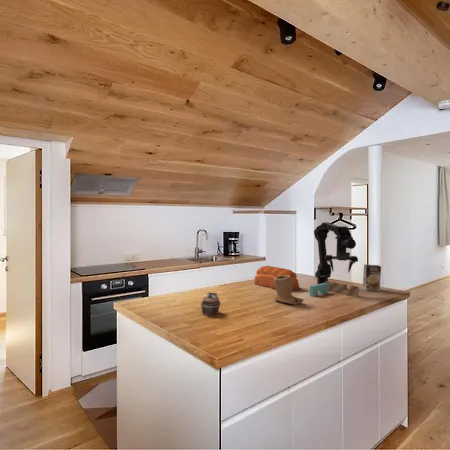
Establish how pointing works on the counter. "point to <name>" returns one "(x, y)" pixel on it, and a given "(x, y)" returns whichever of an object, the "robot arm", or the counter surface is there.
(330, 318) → the counter surface
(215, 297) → the cupcake
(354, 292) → the rail
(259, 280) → the bread
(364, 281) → the coffee box
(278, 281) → the brown hollow boot-shaped piece
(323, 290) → the crossbar
